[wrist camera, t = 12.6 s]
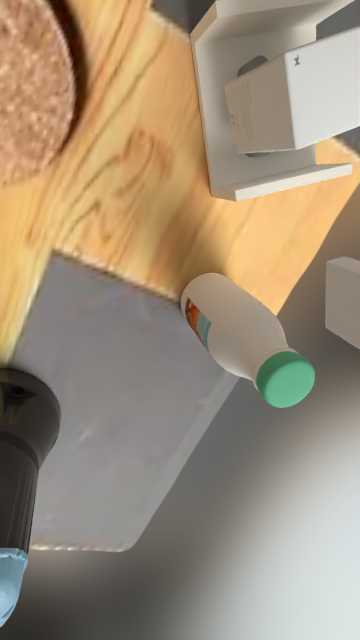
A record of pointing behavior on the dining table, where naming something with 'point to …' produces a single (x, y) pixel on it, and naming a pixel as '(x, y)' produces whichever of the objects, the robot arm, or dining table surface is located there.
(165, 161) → the dining table surface
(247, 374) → the milk bottle
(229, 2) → the peg frame
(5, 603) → the robot arm
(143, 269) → the dining table surface
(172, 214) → the dining table surface
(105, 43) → the dining table surface
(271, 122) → the skincare box
